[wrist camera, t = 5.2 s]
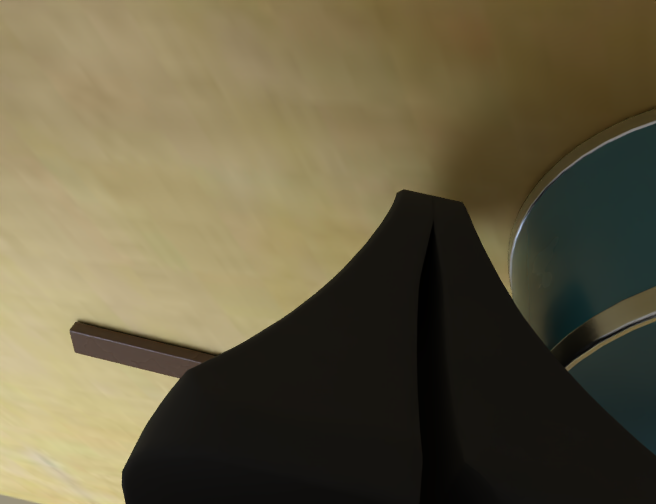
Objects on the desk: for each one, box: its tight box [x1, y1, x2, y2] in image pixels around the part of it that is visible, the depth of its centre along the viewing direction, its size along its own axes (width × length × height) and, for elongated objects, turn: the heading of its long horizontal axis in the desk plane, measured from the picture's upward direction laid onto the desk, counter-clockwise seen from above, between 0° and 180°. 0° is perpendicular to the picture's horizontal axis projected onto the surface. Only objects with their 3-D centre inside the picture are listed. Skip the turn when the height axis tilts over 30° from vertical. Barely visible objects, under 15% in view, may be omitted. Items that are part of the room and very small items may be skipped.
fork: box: [70, 322, 215, 378], centre depth 17 cm, size 15×2×1 cm, turn 83°
